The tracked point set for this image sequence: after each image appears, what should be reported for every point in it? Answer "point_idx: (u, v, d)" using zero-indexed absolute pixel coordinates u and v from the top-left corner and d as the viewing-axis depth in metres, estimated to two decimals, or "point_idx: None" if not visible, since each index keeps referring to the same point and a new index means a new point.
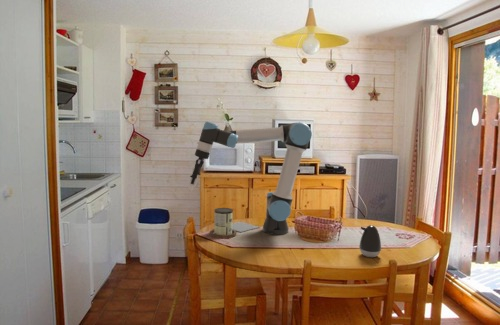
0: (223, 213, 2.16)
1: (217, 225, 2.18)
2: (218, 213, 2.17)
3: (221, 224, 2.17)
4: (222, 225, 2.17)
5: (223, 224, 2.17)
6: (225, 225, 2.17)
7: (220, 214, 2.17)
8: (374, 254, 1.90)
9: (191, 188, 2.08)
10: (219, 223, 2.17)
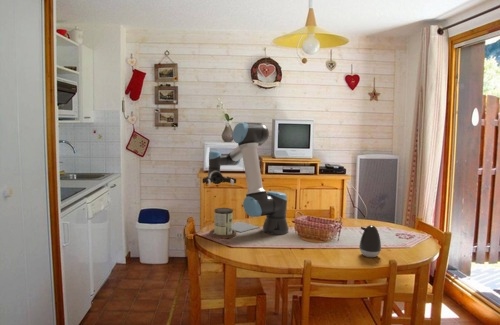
0: (223, 213, 2.16)
1: (217, 225, 2.18)
2: (218, 213, 2.17)
3: (221, 224, 2.17)
4: (222, 225, 2.17)
5: (223, 224, 2.17)
6: (225, 225, 2.17)
7: (220, 214, 2.17)
8: (374, 254, 1.90)
9: (209, 182, 2.28)
10: (219, 223, 2.17)
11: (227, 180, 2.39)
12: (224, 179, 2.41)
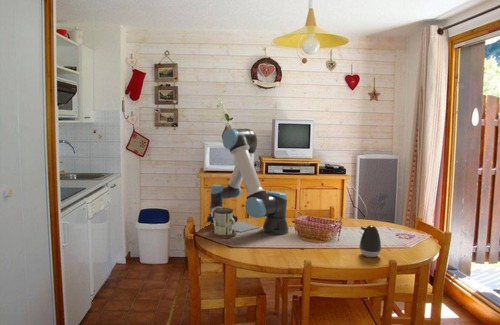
0: (223, 213, 2.16)
1: (217, 225, 2.18)
2: (218, 213, 2.17)
3: (221, 224, 2.17)
4: (222, 225, 2.17)
5: (223, 224, 2.17)
6: (225, 225, 2.17)
7: (220, 214, 2.16)
8: (374, 254, 1.90)
9: (214, 222, 2.17)
10: (219, 223, 2.17)
11: None
12: None
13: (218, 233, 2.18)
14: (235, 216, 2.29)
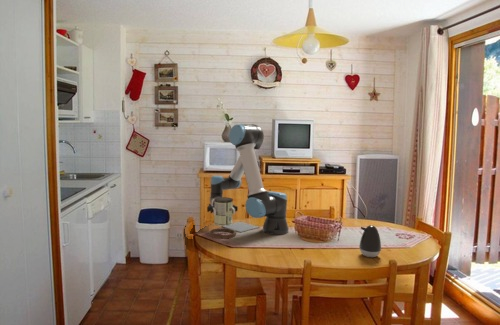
0: (223, 202, 2.16)
1: (217, 214, 2.18)
2: (218, 202, 2.16)
3: (221, 213, 2.16)
4: (222, 214, 2.16)
5: (223, 213, 2.16)
6: (225, 214, 2.17)
7: (220, 203, 2.16)
8: (374, 254, 1.90)
9: (214, 211, 2.17)
10: (219, 212, 2.17)
11: None
12: None
13: (218, 222, 2.17)
14: (235, 206, 2.28)
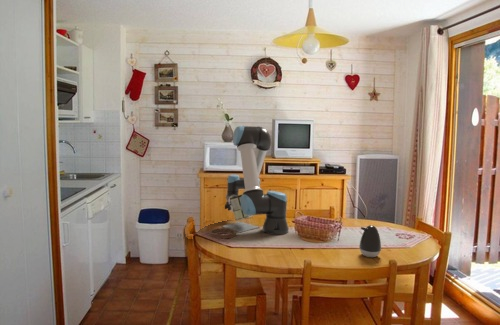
0: (234, 198, 2.31)
1: (233, 211, 2.33)
2: (231, 199, 2.33)
3: (236, 208, 2.31)
4: (237, 209, 2.31)
5: (237, 208, 2.31)
6: (239, 208, 2.31)
7: (232, 199, 2.32)
8: (374, 254, 1.90)
9: (231, 208, 2.33)
10: (234, 208, 2.32)
11: None
12: None
13: (236, 217, 2.32)
14: None
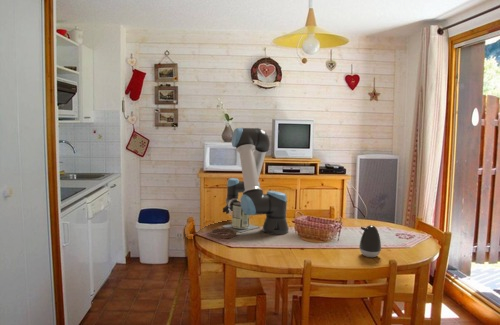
0: (238, 205, 2.30)
1: (233, 217, 2.33)
2: (234, 205, 2.32)
3: (236, 216, 2.31)
4: (237, 217, 2.31)
5: (238, 216, 2.31)
6: (240, 217, 2.30)
7: (236, 206, 2.31)
8: (374, 254, 1.90)
9: (229, 212, 2.33)
10: (235, 215, 2.32)
11: None
12: None
13: (233, 224, 2.32)
14: None
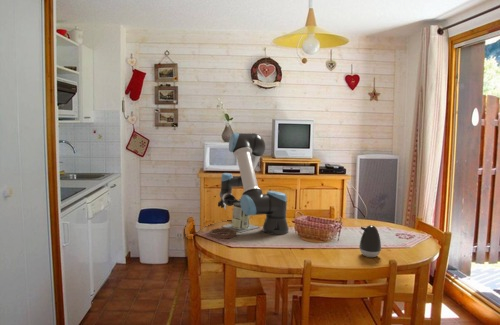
0: (239, 207, 2.30)
1: (233, 217, 2.33)
2: (235, 206, 2.31)
3: (237, 216, 2.31)
4: (237, 218, 2.30)
5: (238, 217, 2.30)
6: (240, 218, 2.30)
7: (236, 207, 2.30)
8: (374, 254, 1.90)
9: (224, 206, 2.45)
10: (235, 216, 2.31)
11: None
12: None
13: (234, 225, 2.32)
14: None
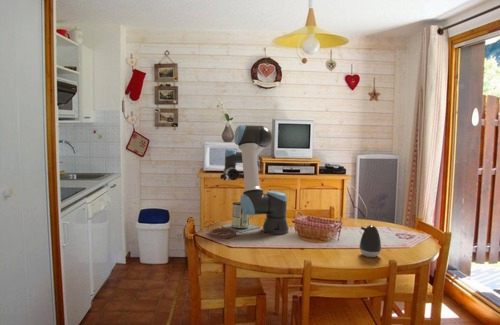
0: (238, 204, 2.31)
1: (233, 216, 2.33)
2: (234, 204, 2.33)
3: (236, 215, 2.31)
4: (237, 216, 2.31)
5: (237, 215, 2.31)
6: (239, 216, 2.31)
7: (236, 205, 2.32)
8: (374, 254, 1.90)
9: (227, 177, 2.44)
10: (235, 214, 2.32)
11: (243, 176, 2.55)
12: (240, 175, 2.57)
13: (233, 224, 2.32)
14: None
